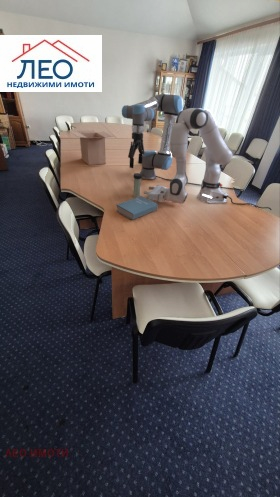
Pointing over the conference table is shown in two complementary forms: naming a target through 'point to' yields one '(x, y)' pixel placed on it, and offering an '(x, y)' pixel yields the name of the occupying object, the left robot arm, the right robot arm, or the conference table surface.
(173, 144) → the right robot arm
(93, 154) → the box
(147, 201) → the book
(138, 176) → the lid
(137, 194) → the jar
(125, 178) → the conference table surface
